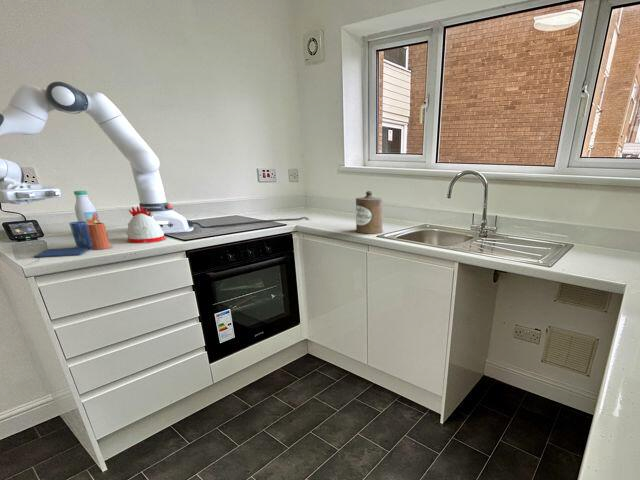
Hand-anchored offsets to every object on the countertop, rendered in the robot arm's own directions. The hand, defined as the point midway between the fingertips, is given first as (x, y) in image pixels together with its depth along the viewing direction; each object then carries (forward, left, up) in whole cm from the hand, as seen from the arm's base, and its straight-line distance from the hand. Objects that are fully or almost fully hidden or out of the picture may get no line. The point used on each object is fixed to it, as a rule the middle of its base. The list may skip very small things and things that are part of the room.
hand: (45, 195), depth 140 cm
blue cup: (-10, +7, -20) cm, 24 cm away
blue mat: (-6, +17, -20) cm, 27 cm away
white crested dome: (-30, -2, -20) cm, 36 cm away
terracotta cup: (-16, +11, -20) cm, 28 cm away
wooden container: (-137, +4, -20) cm, 138 cm away
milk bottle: (-5, -22, -20) cm, 30 cm away
